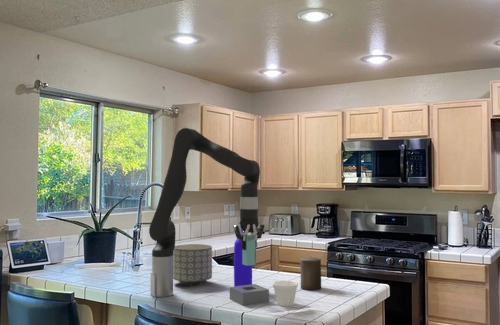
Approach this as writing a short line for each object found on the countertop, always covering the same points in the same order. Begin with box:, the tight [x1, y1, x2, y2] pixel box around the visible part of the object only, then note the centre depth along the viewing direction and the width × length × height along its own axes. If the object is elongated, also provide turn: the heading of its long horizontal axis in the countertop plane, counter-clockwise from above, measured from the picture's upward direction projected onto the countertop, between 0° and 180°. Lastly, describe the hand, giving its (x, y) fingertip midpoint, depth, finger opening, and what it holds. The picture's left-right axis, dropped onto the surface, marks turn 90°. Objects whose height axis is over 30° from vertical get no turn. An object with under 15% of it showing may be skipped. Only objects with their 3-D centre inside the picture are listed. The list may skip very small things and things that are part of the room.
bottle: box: [233, 228, 253, 287], centre depth 217 cm, size 8×8×30 cm
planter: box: [173, 243, 213, 287], centre depth 234 cm, size 19×19×18 cm
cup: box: [272, 280, 298, 307], centre depth 190 cm, size 10×10×9 cm
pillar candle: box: [299, 256, 322, 291], centre depth 223 cm, size 10×10×15 cm
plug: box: [242, 234, 256, 266], centre depth 197 cm, size 4×4×12 cm
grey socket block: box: [229, 283, 270, 306], centre depth 196 cm, size 12×12×6 cm
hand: (248, 249), depth 197 cm, fingers closed on plug, 4 cm apart
